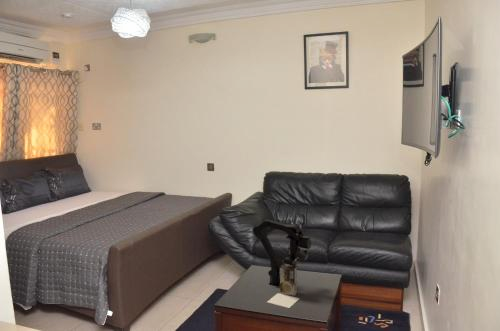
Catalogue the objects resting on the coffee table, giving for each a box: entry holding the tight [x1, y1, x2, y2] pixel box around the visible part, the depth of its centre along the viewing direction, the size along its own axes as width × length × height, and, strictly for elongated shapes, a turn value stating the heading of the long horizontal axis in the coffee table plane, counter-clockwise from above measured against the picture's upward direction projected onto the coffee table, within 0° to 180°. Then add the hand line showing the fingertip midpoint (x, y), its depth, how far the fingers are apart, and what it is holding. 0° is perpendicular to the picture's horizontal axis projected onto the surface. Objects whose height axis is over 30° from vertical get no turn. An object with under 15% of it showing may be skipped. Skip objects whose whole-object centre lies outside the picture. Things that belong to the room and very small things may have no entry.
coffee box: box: [279, 264, 298, 297], centre depth 232 cm, size 9×6×16 cm
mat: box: [266, 292, 300, 309], centre depth 223 cm, size 14×14×1 cm
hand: (293, 271), depth 238 cm, fingers closed
